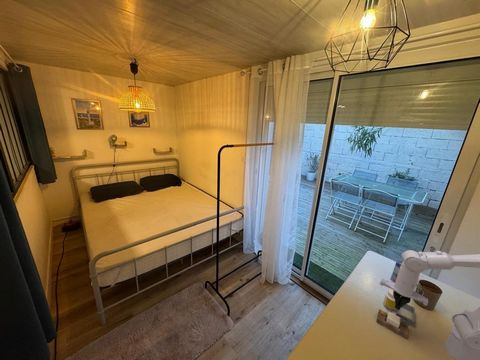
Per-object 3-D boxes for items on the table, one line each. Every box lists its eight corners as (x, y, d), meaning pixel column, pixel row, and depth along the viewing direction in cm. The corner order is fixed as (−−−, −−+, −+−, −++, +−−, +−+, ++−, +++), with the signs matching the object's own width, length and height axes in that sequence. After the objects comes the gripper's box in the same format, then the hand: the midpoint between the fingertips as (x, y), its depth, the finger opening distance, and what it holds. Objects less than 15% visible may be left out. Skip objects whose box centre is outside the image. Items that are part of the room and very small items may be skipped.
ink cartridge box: (400, 288, 102) (407, 264, 98) (389, 280, 107) (396, 257, 103) (412, 284, 105) (420, 261, 101) (401, 276, 110) (408, 254, 106)
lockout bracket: (413, 312, 89) (414, 307, 88) (413, 327, 82) (415, 322, 81) (396, 304, 92) (397, 299, 92) (395, 317, 86) (396, 313, 85)
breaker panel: (406, 327, 81) (408, 323, 81) (406, 339, 77) (408, 334, 76) (378, 312, 87) (379, 308, 87) (376, 322, 83) (377, 317, 82)
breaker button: (398, 322, 82) (400, 317, 81) (398, 329, 79) (399, 324, 78) (386, 316, 84) (388, 311, 84) (385, 322, 82) (387, 318, 81)
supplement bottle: (397, 313, 88) (402, 298, 86) (385, 310, 89) (390, 296, 86) (391, 304, 92) (396, 289, 90) (380, 301, 93) (385, 287, 91)
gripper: (431, 284, 74) (420, 312, 78) (384, 266, 83) (377, 291, 87) (432, 295, 69) (421, 324, 73) (383, 274, 78) (375, 301, 82)
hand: (397, 307), depth 80 cm, fingers closed
